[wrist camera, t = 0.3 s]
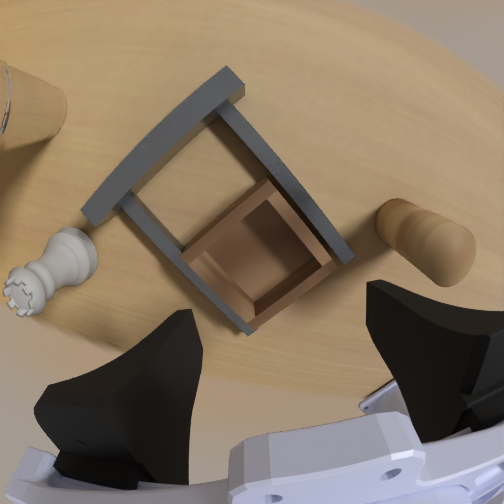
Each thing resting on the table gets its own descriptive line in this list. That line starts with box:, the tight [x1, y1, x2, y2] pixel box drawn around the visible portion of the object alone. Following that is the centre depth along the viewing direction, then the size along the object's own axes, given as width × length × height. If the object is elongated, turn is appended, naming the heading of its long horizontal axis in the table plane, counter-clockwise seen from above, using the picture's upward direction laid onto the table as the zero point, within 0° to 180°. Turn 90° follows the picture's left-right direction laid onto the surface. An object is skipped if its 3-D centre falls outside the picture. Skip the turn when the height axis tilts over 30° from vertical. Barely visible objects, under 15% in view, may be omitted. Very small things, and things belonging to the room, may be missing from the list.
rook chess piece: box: [3, 227, 97, 317], centre depth 17 cm, size 4×4×8 cm
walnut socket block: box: [180, 177, 338, 330], centre depth 20 cm, size 7×7×3 cm
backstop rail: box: [81, 65, 355, 336], centre depth 19 cm, size 14×12×4 cm
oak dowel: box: [375, 198, 476, 287], centre depth 17 cm, size 4×4×8 cm
